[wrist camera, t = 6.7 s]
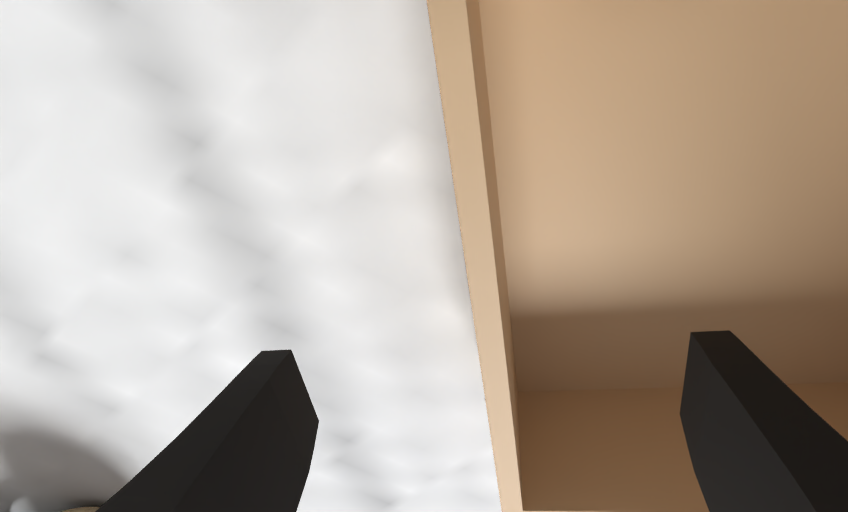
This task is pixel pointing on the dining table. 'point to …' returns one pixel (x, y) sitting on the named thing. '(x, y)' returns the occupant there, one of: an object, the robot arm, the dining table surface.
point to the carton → (642, 223)
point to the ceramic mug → (82, 509)
